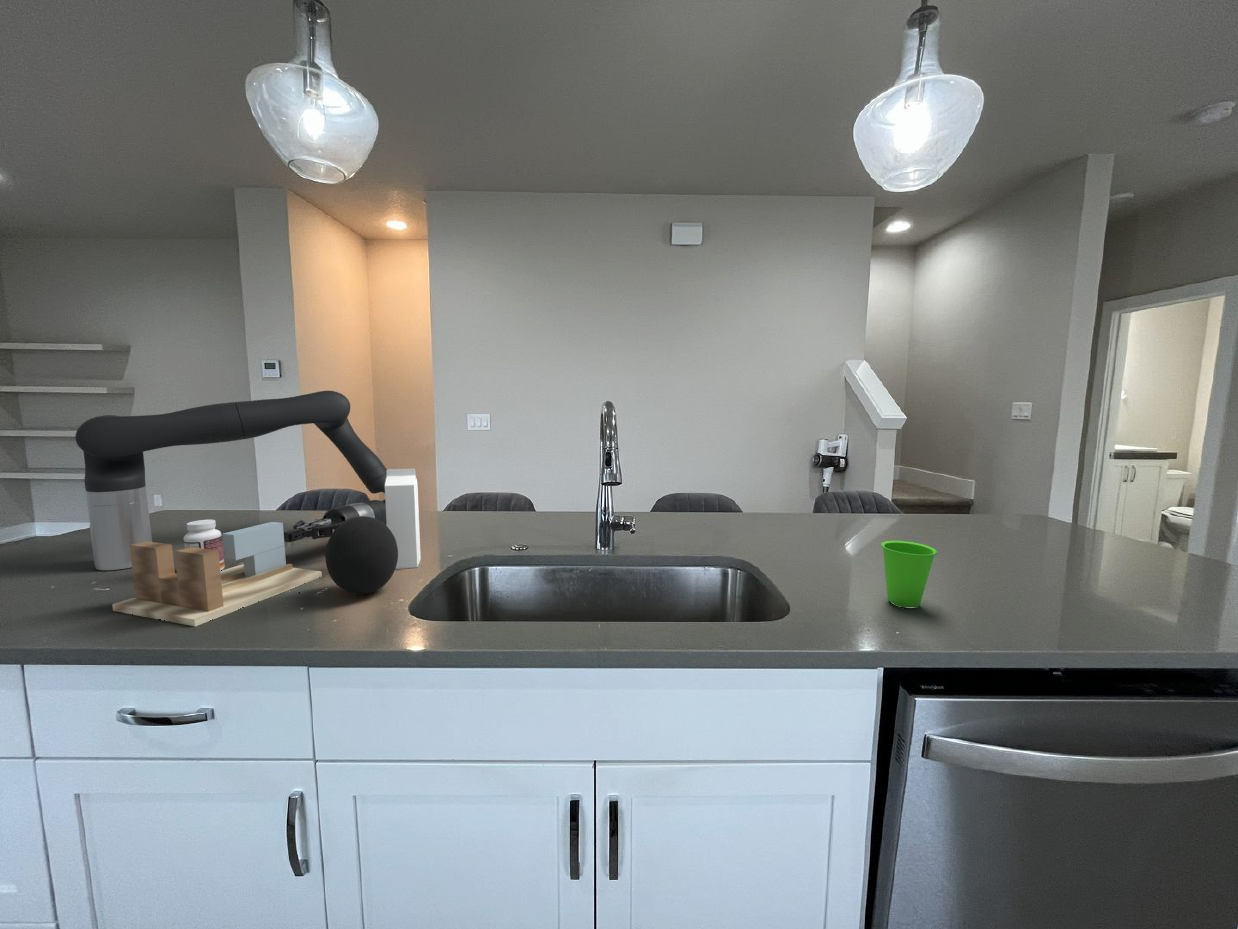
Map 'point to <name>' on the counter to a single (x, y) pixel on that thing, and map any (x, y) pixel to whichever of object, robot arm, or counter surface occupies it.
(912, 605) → the cup
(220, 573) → the jig
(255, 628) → the counter surface
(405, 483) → the milk
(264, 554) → the sliding plate
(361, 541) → the decorative egg
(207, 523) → the pill bottle
